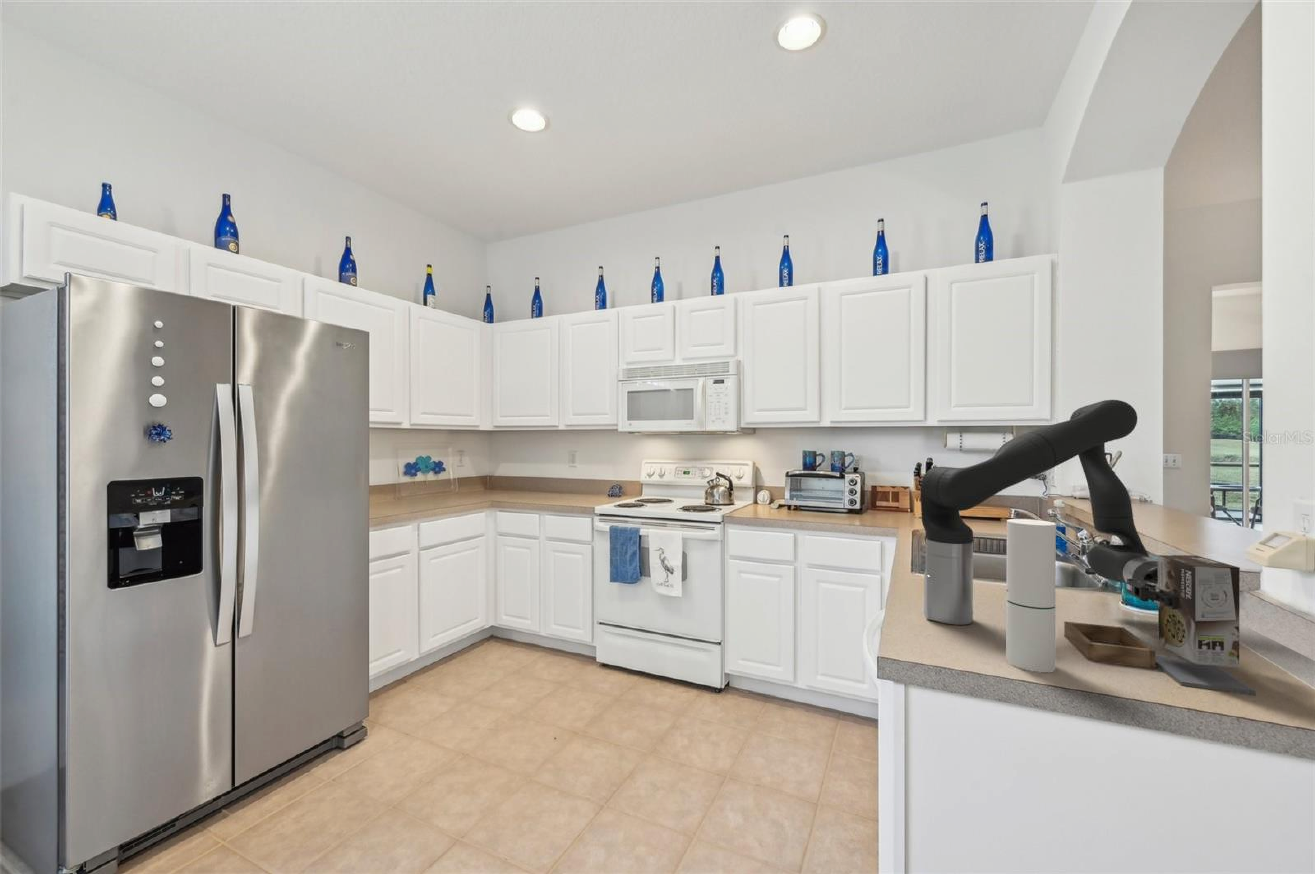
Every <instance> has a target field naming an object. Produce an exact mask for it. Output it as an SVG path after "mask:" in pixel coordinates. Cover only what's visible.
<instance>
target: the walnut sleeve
mask: <svg viewBox="0 0 1315 874" xmlns="http://www.w3.org/2000/svg"><path fill="white" fill-rule="evenodd" d="M1063 624H1064V625H1063V626H1064V629H1063V631H1064V633H1063V635H1064V637H1065V639H1066V640H1067V641H1069V642H1070V643H1071V645H1073V647H1074V648H1075V649H1076V650H1077V651H1079V653H1080V654H1081V655H1083V657H1085V659H1086V660H1087V661H1093V662H1101V663H1108V664H1109V663H1110V664H1116V665H1117V664H1118V665H1125V666H1132V667H1134V666H1135V667H1141V668H1142V667H1143V668H1150V669H1156V665H1155V658H1156V655H1157V654H1156V650H1155V649H1153V648H1152V647H1150V646H1149V645H1148V644H1147V643H1145V642H1144V641H1142V640H1141V639H1140V638H1139V637H1137V636H1136V635H1134V634H1133V633H1132V632H1130V631H1129V630H1128V629H1126V628H1125V627H1124V626H1123V627H1122V626H1112V625H1104V624H1093V623H1083V622H1076V621H1075V622H1073V621H1066V620H1065V621H1064V623H1063ZM1101 642H1102V643H1101ZM1109 643H1110V644H1109ZM1111 643H1112V644H1111ZM1117 644H1118V645H1117ZM1119 644H1120V645H1119Z"/></svg>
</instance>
